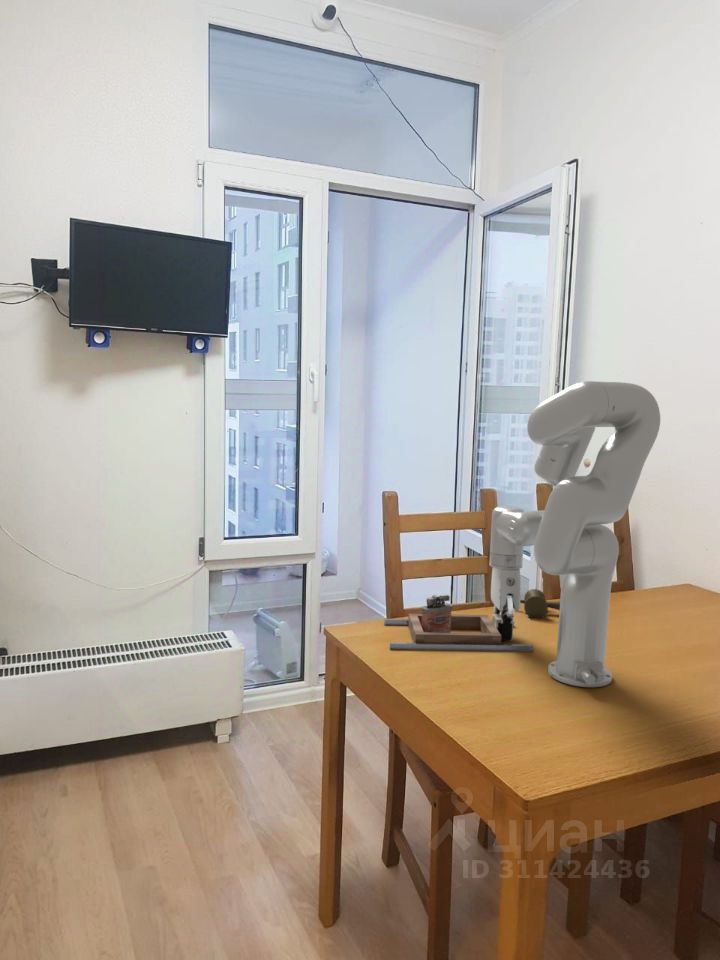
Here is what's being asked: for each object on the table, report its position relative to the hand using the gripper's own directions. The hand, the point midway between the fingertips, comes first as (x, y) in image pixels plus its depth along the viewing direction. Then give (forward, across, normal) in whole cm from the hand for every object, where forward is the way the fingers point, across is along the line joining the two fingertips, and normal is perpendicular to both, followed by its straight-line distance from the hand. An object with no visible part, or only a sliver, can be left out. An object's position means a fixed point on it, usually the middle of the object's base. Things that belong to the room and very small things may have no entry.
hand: (501, 635), depth 169 cm
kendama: (+1, +20, -18) cm, 26 cm away
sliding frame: (+1, 0, +10) cm, 10 cm away
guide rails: (+1, 0, +11) cm, 11 cm away
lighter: (+1, 0, +16) cm, 16 cm away
